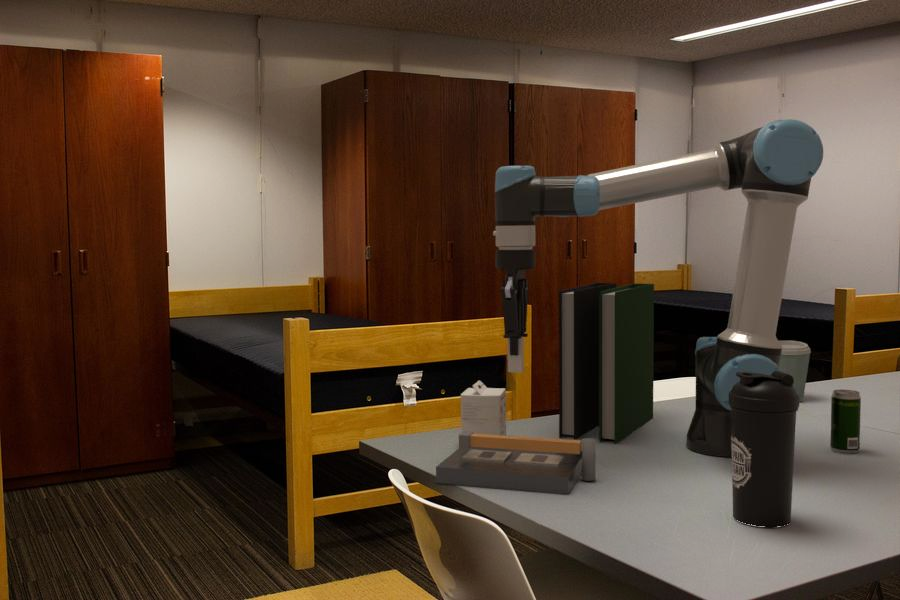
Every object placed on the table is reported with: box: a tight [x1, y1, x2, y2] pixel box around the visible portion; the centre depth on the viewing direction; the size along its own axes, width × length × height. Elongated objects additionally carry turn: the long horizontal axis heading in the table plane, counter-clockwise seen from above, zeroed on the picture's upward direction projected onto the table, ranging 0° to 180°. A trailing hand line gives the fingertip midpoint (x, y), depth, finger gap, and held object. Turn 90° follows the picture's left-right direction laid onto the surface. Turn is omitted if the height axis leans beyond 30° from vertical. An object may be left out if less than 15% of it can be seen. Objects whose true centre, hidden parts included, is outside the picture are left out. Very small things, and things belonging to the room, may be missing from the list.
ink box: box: [460, 380, 507, 436], centre depth 181 cm, size 9×8×13 cm
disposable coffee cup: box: [778, 340, 812, 403], centre depth 223 cm, size 11×11×15 cm
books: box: [558, 282, 655, 445], centre depth 195 cm, size 27×15×32 cm, turn 152°
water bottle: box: [729, 371, 800, 527], centre depth 134 cm, size 10×10×23 cm
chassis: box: [435, 447, 582, 495], centre depth 160 cm, size 24×18×4 cm
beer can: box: [829, 389, 862, 455], centre depth 173 cm, size 5×5×12 cm
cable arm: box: [458, 431, 596, 482], centre depth 159 cm, size 25×3×7 cm, turn 72°
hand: (515, 371), depth 166 cm, fingers closed
